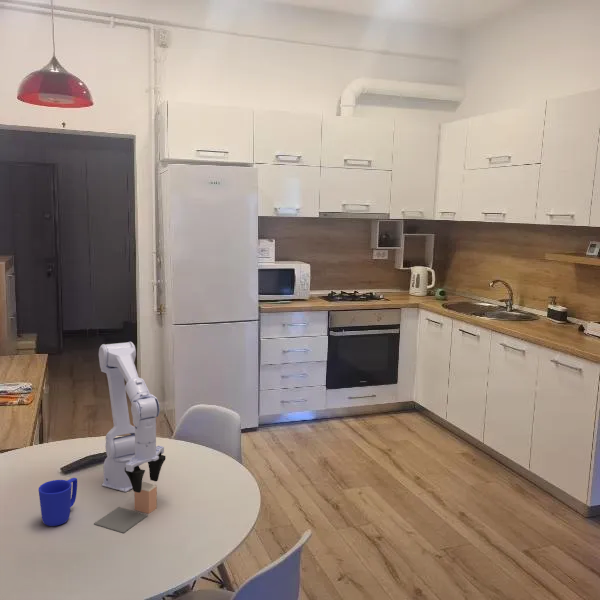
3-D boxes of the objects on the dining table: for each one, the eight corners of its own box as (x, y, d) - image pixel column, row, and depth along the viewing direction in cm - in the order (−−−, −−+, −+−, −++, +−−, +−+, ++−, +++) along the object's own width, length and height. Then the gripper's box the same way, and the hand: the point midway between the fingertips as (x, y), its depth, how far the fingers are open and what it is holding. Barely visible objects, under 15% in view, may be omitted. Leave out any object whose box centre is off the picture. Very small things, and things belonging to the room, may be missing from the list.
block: (134, 509, 166) (134, 486, 165) (142, 504, 169) (142, 481, 168) (149, 513, 164) (148, 490, 163) (156, 508, 167) (156, 485, 166)
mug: (88, 510, 164) (87, 476, 163) (57, 531, 153) (56, 496, 151) (64, 504, 167) (63, 471, 165) (32, 525, 156) (31, 490, 154)
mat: (93, 524, 157) (93, 523, 157) (118, 507, 166) (118, 506, 166) (123, 533, 153) (123, 532, 153) (147, 515, 162) (147, 514, 162)
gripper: (140, 451, 155) (140, 499, 157) (172, 434, 168) (172, 478, 170) (119, 447, 158) (119, 494, 160) (152, 429, 171) (152, 473, 173)
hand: (145, 485), depth 165 cm, fingers open, 7 cm apart
